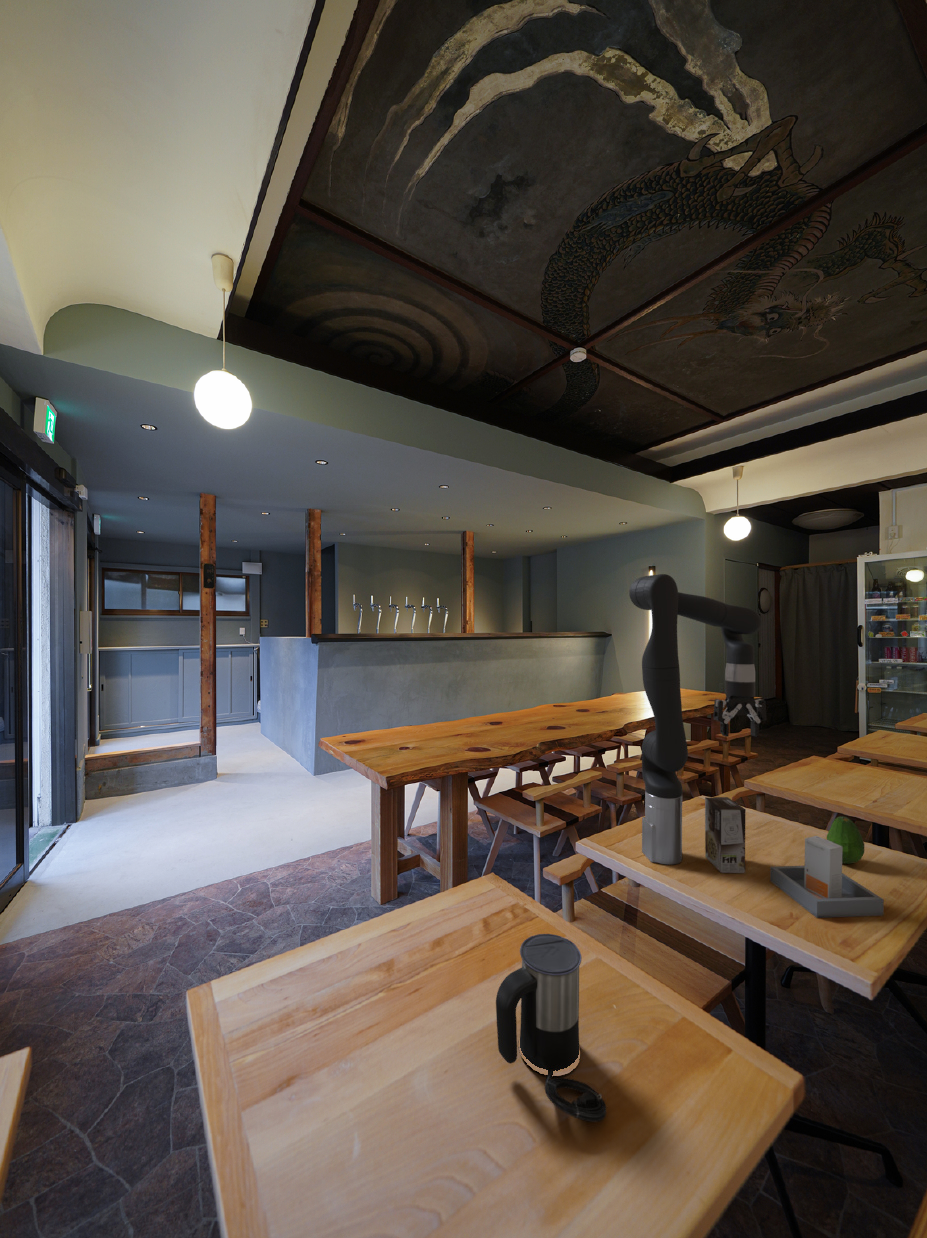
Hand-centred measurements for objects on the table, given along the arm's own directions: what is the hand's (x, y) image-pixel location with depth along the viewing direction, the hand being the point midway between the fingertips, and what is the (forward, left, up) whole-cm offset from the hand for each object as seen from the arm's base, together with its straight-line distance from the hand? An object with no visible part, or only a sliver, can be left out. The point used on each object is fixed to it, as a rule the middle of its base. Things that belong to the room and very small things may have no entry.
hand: (739, 736), depth 145 cm
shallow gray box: (+2, -29, -30) cm, 42 cm away
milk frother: (-69, -70, -30) cm, 103 cm away
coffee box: (-12, -13, -30) cm, 35 cm away
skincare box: (+2, -29, -30) cm, 41 cm away
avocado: (+20, -14, -30) cm, 39 cm away
